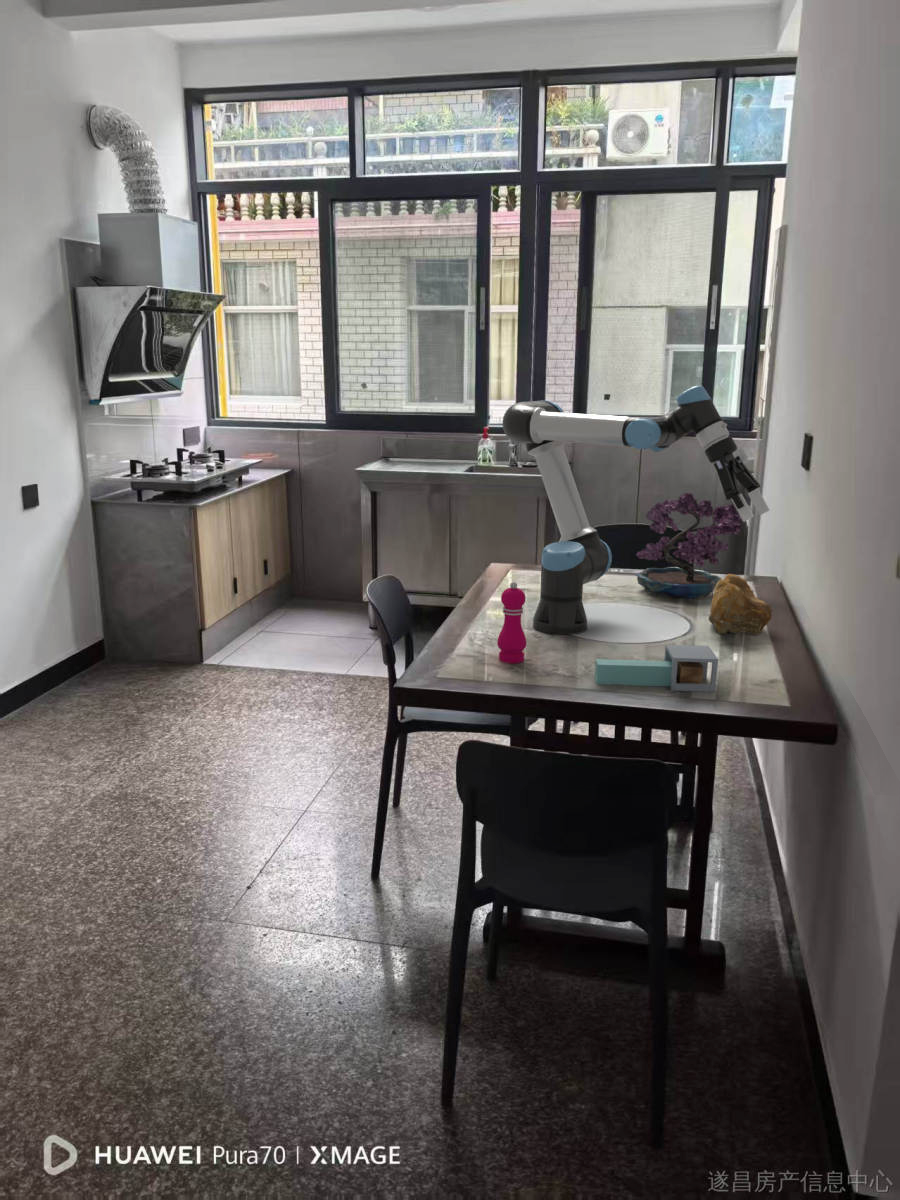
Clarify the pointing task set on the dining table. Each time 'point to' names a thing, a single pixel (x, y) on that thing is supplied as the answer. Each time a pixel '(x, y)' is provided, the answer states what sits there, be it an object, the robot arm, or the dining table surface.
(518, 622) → the pepper mill
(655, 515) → the bonsai tree
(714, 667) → the tunnel
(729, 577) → the rough brown rock
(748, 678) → the dining table surface
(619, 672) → the teal rod
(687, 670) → the walnut block
